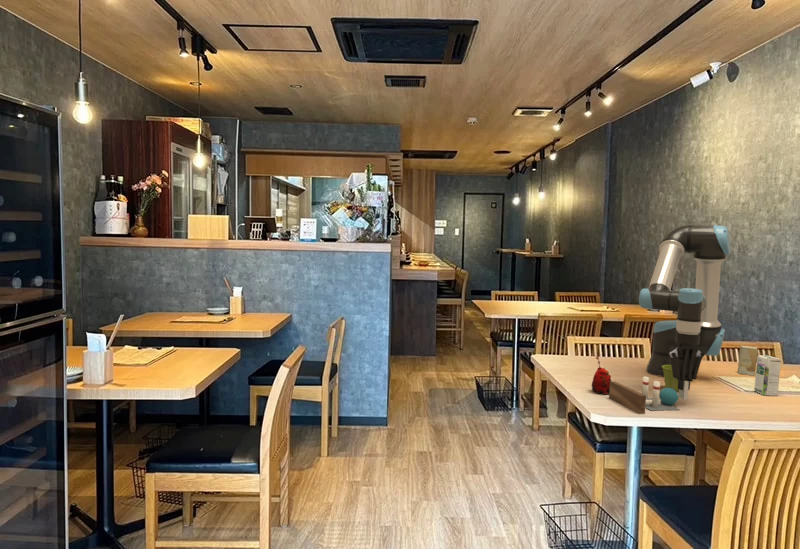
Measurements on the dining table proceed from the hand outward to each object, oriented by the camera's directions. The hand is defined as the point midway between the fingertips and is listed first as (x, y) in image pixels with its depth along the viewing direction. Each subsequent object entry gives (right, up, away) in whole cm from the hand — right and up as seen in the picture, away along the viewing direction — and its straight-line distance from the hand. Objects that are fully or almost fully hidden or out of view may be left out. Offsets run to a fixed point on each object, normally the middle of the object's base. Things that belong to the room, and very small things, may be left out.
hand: (682, 398), depth 197 cm
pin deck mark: (-11, -2, -2) cm, 12 cm away
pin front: (-10, -1, -3) cm, 10 cm away
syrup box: (+41, -2, +18) cm, 45 cm away
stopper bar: (-22, -1, -4) cm, 22 cm away
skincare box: (+54, -1, +51) cm, 75 cm away
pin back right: (-13, -1, +1) cm, 13 cm away
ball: (-6, +1, -2) cm, 6 cm away
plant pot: (+6, -1, +20) cm, 21 cm away
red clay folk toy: (-25, 0, +12) cm, 27 cm away
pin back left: (-12, -2, -5) cm, 13 cm away
